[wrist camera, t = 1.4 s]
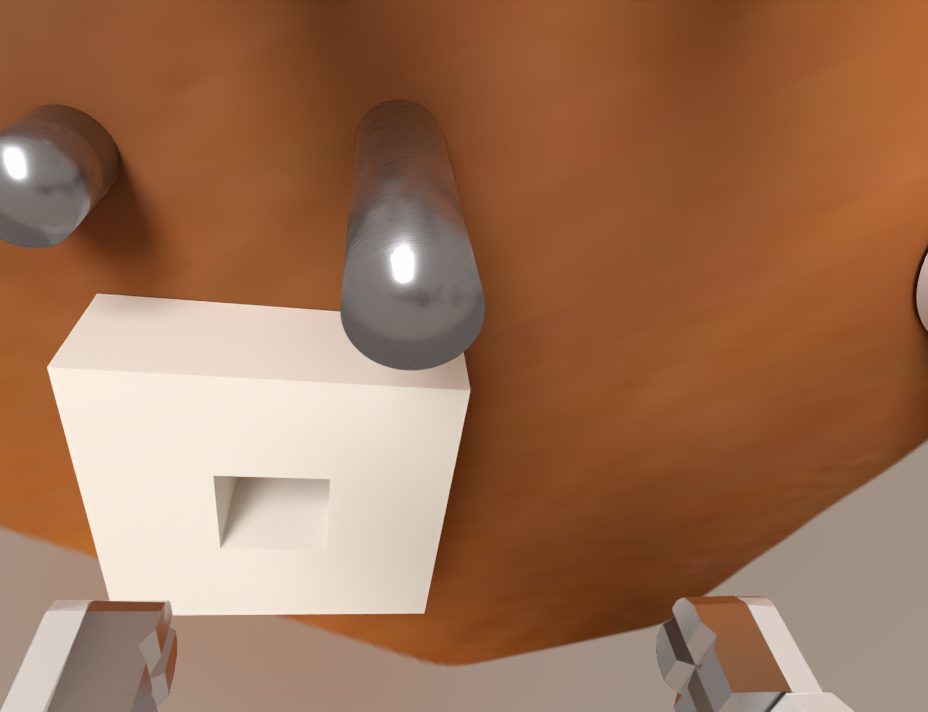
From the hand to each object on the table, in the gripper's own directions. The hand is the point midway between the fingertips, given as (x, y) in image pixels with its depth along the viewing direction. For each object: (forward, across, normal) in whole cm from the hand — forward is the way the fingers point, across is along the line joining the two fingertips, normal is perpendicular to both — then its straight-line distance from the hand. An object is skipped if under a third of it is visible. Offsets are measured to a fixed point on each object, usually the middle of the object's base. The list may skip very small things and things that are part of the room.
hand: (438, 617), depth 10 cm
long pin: (+23, 0, 0) cm, 23 cm away
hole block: (+23, +5, +18) cm, 30 cm away
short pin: (+23, +14, +2) cm, 27 cm away
